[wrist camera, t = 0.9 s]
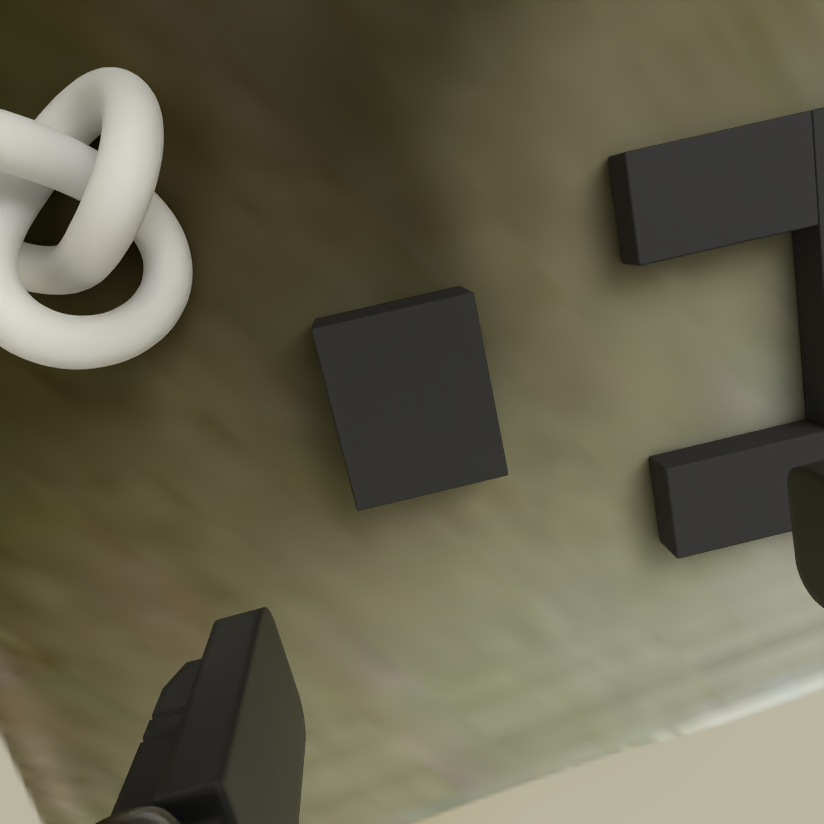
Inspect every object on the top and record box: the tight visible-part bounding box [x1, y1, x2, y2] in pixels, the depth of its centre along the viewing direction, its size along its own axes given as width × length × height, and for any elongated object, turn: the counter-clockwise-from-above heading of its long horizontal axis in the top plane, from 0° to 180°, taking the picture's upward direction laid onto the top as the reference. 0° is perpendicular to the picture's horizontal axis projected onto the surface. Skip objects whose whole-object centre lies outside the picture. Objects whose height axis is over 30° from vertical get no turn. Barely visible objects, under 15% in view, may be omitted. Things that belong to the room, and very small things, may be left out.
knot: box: [0, 67, 193, 369], centre depth 19 cm, size 8×8×6 cm
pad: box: [311, 286, 508, 510], centre depth 23 cm, size 6×5×2 cm
